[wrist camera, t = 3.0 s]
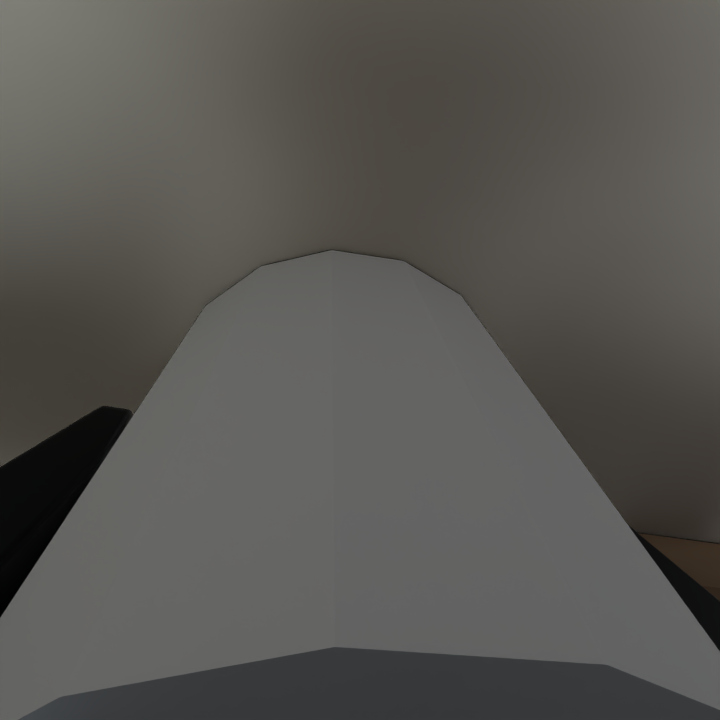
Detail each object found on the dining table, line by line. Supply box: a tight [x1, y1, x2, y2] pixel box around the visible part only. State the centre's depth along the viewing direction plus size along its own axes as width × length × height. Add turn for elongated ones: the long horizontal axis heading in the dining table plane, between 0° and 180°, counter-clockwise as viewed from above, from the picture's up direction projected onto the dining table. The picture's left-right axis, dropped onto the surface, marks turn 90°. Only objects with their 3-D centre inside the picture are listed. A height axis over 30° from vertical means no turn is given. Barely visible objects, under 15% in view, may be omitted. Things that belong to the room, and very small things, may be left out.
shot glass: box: [0, 250, 720, 720], centre depth 7 cm, size 7×7×7 cm
